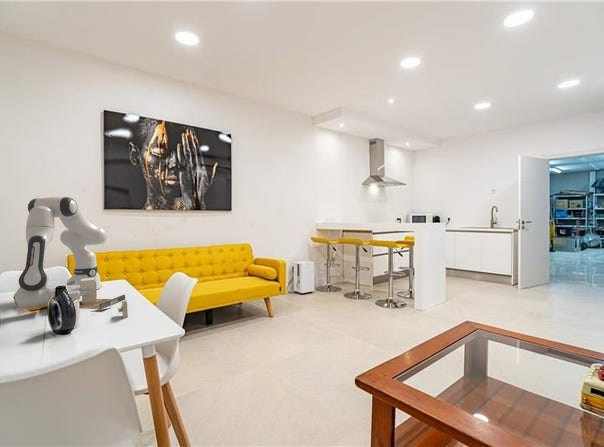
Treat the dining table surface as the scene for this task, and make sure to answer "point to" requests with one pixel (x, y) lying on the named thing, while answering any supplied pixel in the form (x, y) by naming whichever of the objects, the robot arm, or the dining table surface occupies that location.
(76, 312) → the white cup
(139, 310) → the dining table surface
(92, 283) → the carton
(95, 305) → the shelf plank
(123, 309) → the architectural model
